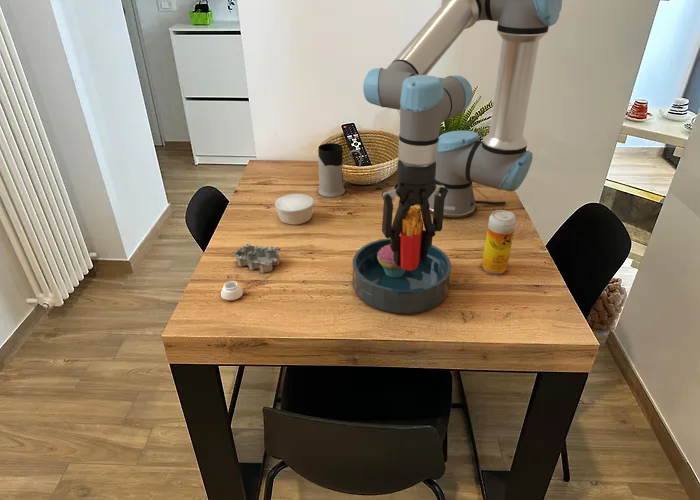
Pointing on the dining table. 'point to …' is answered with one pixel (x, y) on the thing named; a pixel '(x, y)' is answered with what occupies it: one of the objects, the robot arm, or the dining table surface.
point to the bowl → (401, 281)
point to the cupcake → (389, 262)
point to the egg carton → (258, 257)
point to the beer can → (498, 241)
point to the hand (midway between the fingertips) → (409, 260)
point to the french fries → (411, 239)
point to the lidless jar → (231, 291)
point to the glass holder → (331, 169)
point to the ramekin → (294, 208)
